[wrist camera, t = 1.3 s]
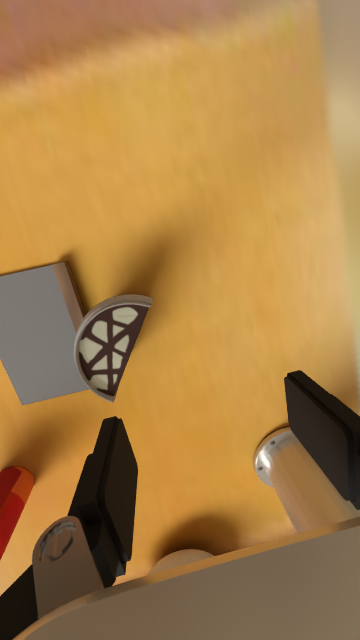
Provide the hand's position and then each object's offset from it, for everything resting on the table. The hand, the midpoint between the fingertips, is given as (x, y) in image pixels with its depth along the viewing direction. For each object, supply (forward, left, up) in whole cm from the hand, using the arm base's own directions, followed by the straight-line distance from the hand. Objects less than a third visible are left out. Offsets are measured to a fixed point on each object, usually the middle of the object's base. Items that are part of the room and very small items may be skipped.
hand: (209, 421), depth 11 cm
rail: (+12, 0, -24) cm, 27 cm away
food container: (+8, 0, -24) cm, 25 cm away
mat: (+19, 0, -24) cm, 31 cm away
